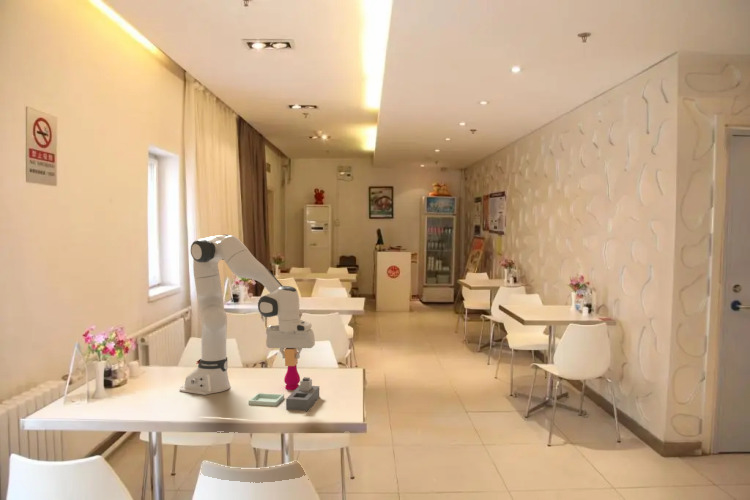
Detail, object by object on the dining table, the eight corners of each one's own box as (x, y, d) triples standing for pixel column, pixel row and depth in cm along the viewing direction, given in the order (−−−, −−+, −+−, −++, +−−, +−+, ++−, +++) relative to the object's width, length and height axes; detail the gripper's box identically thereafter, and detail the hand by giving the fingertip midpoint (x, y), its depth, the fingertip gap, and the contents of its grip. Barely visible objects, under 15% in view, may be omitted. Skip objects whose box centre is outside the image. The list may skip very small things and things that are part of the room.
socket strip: (286, 410, 204) (286, 398, 204) (299, 396, 221) (299, 385, 221) (307, 412, 202) (307, 400, 202) (319, 397, 220) (319, 386, 220)
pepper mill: (296, 392, 227) (296, 348, 226) (281, 391, 229) (281, 347, 228) (302, 387, 234) (302, 345, 233) (287, 386, 236) (287, 344, 235)
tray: (248, 405, 209) (248, 400, 209) (257, 397, 219) (257, 392, 219) (275, 407, 208) (275, 402, 207) (284, 399, 217) (284, 394, 217)
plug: (285, 366, 206) (284, 347, 206) (288, 363, 210) (287, 344, 210) (294, 366, 206) (293, 347, 205) (297, 363, 210) (296, 344, 209)
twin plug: (300, 397, 214) (300, 379, 214) (303, 394, 218) (303, 376, 218) (309, 397, 213) (309, 379, 213) (311, 394, 217) (311, 377, 217)
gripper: (262, 327, 206) (264, 360, 206) (310, 326, 202) (312, 360, 203) (268, 323, 212) (270, 355, 213) (315, 323, 208) (316, 356, 209)
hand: (291, 358), depth 208 cm, fingers closed on plug, 4 cm apart
